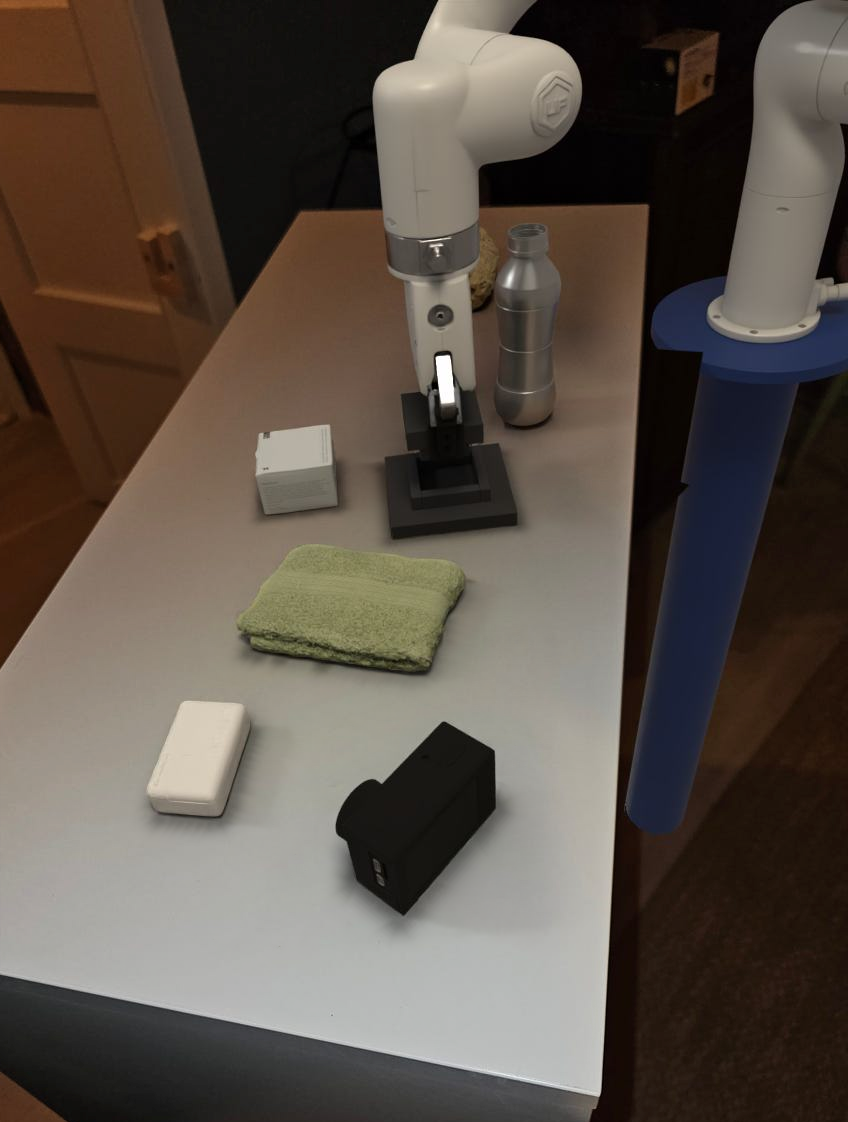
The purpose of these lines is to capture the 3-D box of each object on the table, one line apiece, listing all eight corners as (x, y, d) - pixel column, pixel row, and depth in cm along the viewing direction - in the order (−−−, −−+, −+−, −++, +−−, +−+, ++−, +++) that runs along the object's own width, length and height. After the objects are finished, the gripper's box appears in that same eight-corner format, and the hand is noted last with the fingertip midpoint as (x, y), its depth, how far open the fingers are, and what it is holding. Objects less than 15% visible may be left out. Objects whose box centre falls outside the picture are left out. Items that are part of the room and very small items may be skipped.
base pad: (499, 454, 91) (498, 430, 88) (517, 525, 82) (517, 499, 80) (385, 468, 91) (383, 444, 89) (392, 539, 83) (389, 514, 81)
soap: (190, 720, 70) (180, 696, 68) (254, 724, 69) (246, 699, 67) (153, 815, 64) (140, 792, 62) (223, 821, 63) (213, 797, 60)
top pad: (474, 421, 85) (473, 384, 82) (484, 461, 80) (483, 423, 77) (403, 430, 85) (400, 393, 82) (409, 470, 80) (405, 432, 77)
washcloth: (293, 554, 83) (287, 528, 81) (471, 581, 77) (470, 554, 75) (233, 650, 75) (225, 624, 72) (427, 688, 69) (424, 661, 67)
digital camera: (436, 770, 64) (430, 709, 59) (497, 807, 61) (495, 747, 56) (342, 870, 59) (326, 814, 54) (403, 916, 56) (392, 861, 51)
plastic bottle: (493, 403, 98) (491, 220, 84) (554, 400, 97) (562, 214, 82) (493, 434, 93) (490, 246, 79) (556, 432, 92) (565, 241, 78)
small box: (339, 507, 87) (332, 464, 84) (263, 516, 88) (253, 475, 84) (337, 463, 93) (330, 422, 89) (266, 472, 93) (256, 432, 90)
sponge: (499, 320, 114) (511, 230, 124) (486, 269, 108) (499, 178, 118) (406, 337, 119) (424, 249, 129) (388, 289, 113) (409, 200, 123)
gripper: (494, 284, 63) (495, 485, 75) (466, 201, 75) (471, 386, 88) (392, 296, 63) (410, 494, 76) (380, 212, 75) (397, 394, 88)
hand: (442, 435), depth 82 cm, fingers closed on top pad, 7 cm apart
